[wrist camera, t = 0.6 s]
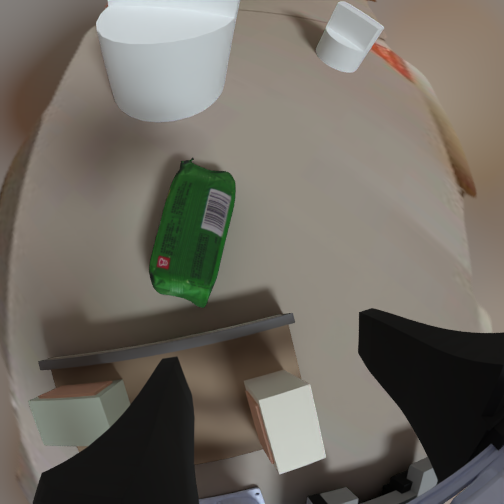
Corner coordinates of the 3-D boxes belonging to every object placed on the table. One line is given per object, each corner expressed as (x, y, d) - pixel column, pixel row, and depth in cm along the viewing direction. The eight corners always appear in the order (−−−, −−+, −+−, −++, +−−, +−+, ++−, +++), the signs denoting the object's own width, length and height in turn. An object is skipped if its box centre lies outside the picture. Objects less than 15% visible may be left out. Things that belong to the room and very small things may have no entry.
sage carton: (134, 417, 26) (116, 444, 18) (73, 421, 24) (44, 445, 16) (122, 377, 27) (98, 394, 19) (61, 383, 25) (27, 398, 17)
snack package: (238, 182, 35) (245, 161, 30) (210, 310, 31) (212, 308, 26) (183, 170, 34) (181, 147, 29) (147, 295, 30) (137, 290, 25)
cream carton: (283, 369, 30) (310, 383, 22) (298, 430, 28) (326, 457, 21) (241, 381, 29) (255, 401, 21) (258, 442, 27) (276, 475, 20)
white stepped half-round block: (306, 50, 44) (328, 4, 33) (329, 40, 47) (351, -1, 35) (344, 77, 44) (373, 32, 32) (364, 65, 46) (390, 25, 35)
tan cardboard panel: (310, 429, 30) (321, 439, 26) (91, 469, 23) (82, 481, 20) (282, 312, 32) (292, 311, 29) (52, 356, 26) (38, 359, 23)
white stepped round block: (145, 44, 38) (142, -91, 12) (238, 60, 40) (276, -86, 13) (93, 111, 34) (44, -54, 7) (201, 134, 36) (227, -75, 9)
